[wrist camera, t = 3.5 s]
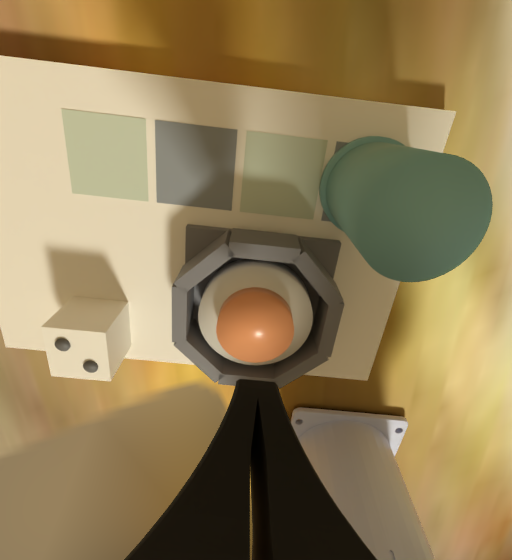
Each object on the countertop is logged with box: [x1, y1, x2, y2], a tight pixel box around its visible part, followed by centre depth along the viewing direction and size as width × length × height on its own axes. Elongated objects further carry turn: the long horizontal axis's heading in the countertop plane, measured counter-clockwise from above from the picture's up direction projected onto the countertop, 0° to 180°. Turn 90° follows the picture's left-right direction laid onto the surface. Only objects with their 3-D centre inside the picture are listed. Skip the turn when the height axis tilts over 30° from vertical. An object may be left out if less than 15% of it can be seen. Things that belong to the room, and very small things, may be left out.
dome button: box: [198, 259, 313, 365], centre depth 16 cm, size 6×6×2 cm
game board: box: [0, 55, 456, 388], centre depth 16 cm, size 15×22×4 cm
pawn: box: [319, 136, 492, 282], centre depth 13 cm, size 4×4×6 cm
